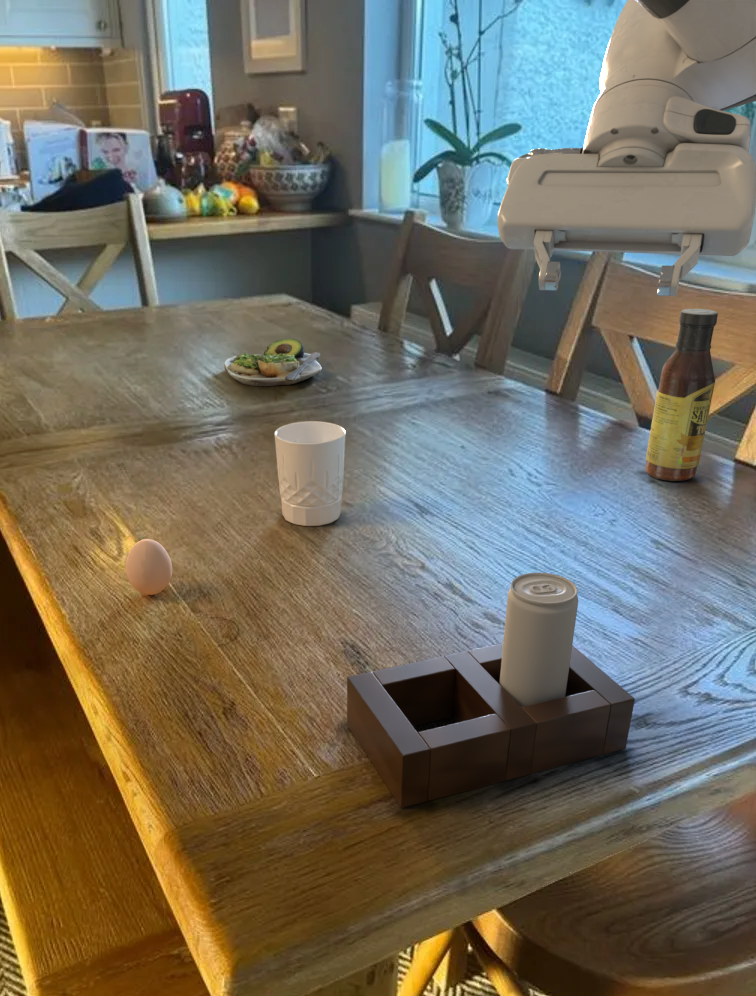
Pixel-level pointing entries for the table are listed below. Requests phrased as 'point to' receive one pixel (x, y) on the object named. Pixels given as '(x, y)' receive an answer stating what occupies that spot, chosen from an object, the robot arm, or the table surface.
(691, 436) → the sauce bottle
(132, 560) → the egg
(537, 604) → the beverage can
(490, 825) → the table surface
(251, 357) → the avocado toast plate
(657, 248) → the robot arm
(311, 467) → the white cup
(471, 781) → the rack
